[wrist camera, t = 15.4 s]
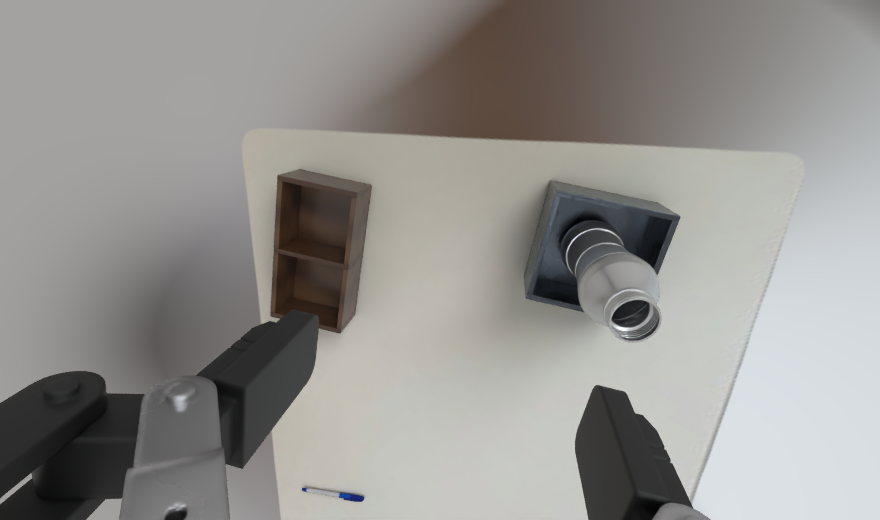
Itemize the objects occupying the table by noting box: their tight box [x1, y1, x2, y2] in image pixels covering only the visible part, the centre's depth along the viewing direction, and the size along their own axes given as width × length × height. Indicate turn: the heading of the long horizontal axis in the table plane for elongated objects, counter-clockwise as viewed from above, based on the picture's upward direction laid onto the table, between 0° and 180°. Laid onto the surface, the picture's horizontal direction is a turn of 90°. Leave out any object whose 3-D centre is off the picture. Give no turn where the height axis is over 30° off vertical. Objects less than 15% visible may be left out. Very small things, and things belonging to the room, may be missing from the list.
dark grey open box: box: [524, 180, 680, 312], centre depth 47 cm, size 12×12×7 cm
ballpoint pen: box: [302, 488, 364, 502], centre depth 69 cm, size 10×1×1 cm, turn 90°
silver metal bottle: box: [561, 220, 662, 343], centre depth 40 cm, size 6×7×20 cm
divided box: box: [270, 169, 372, 333], centre depth 53 cm, size 18×9×5 cm, turn 169°
